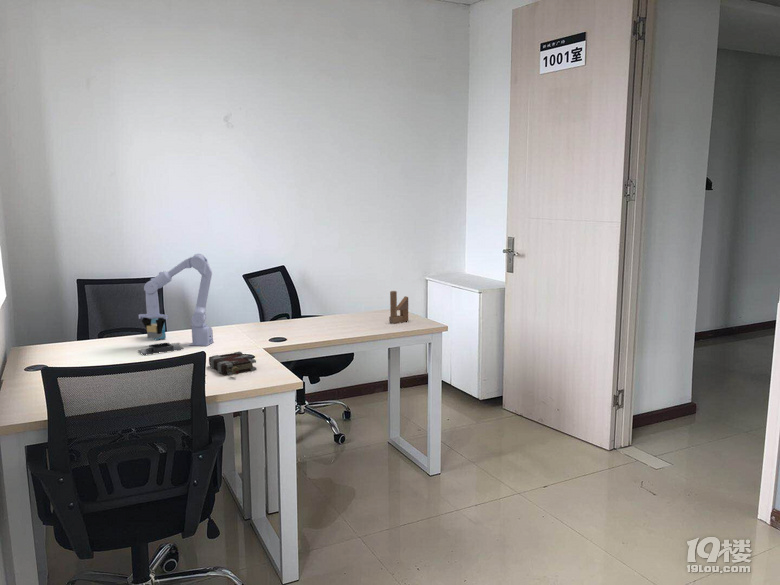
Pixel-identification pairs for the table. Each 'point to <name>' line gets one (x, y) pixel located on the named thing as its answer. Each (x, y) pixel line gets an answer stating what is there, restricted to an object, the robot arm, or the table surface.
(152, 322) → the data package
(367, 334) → the table surface
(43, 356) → the table surface
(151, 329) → the coupler
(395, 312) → the brown wooden bracket
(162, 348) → the shaft rig
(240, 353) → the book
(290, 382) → the table surface
